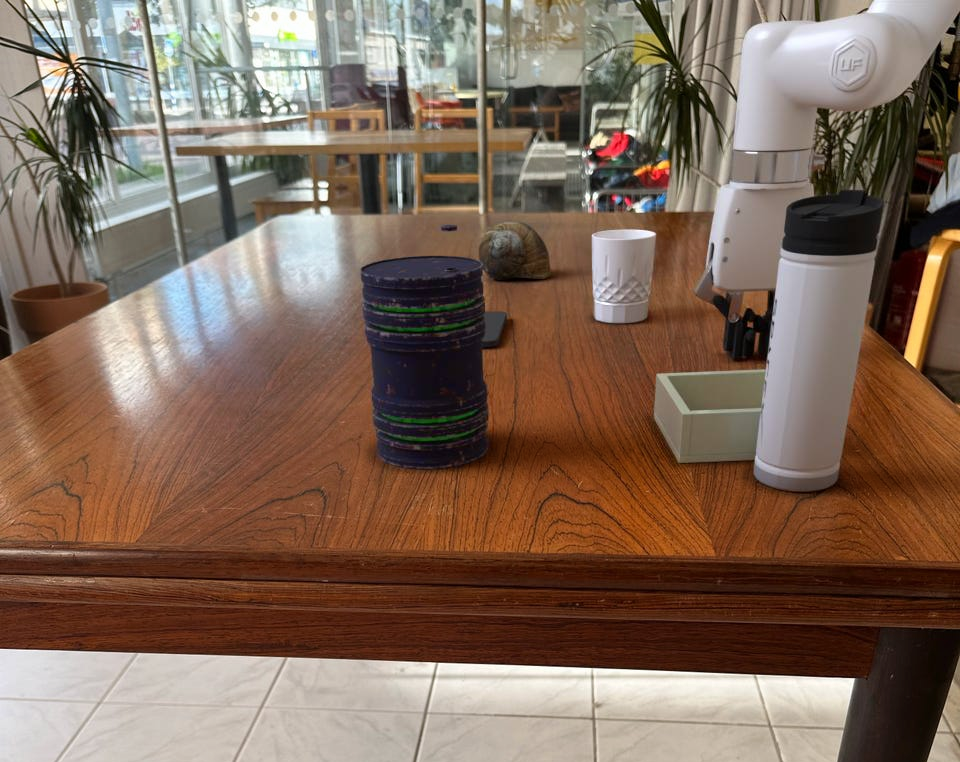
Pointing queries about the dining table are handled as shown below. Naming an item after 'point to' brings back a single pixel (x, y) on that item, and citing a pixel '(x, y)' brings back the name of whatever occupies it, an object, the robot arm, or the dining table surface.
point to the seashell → (514, 252)
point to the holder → (710, 414)
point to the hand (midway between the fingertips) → (748, 355)
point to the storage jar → (427, 359)
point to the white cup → (622, 274)
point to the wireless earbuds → (750, 332)
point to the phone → (493, 327)
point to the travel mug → (816, 338)
